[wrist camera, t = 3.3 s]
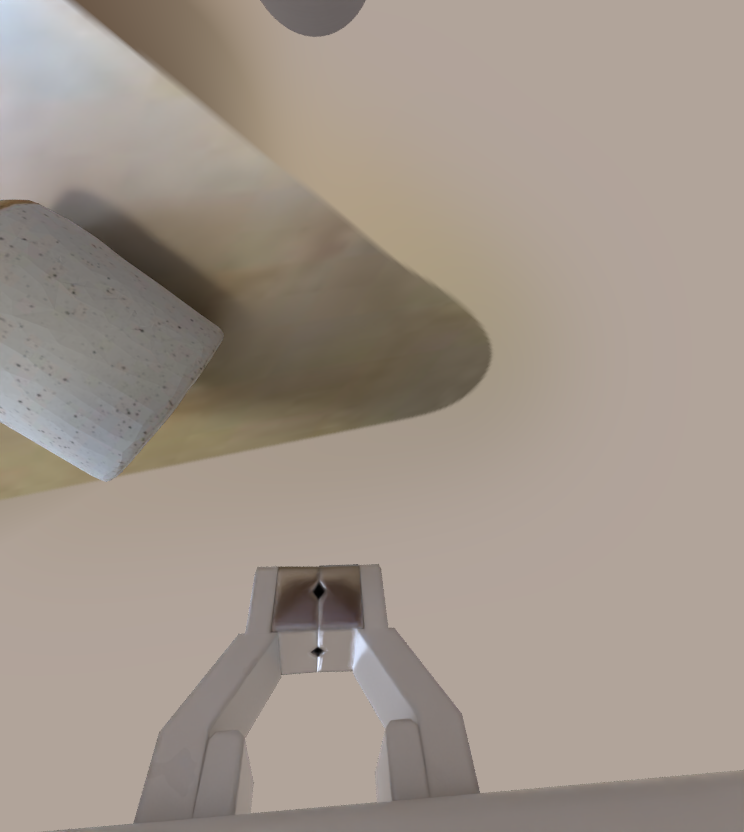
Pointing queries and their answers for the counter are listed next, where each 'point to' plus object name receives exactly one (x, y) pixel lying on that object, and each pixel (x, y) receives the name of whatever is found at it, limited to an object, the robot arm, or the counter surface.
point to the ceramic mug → (89, 343)
